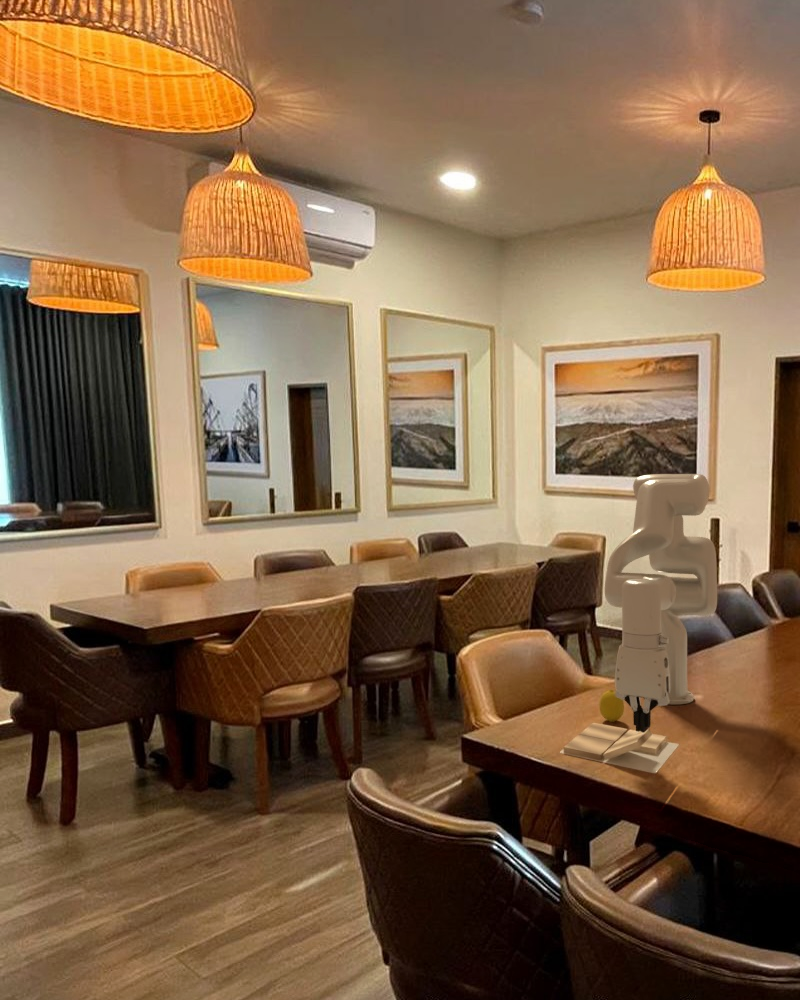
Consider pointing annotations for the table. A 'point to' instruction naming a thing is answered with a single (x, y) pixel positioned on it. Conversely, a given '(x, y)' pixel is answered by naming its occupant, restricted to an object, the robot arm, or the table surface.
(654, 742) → the plank far
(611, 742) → the row
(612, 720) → the lemon
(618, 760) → the underlay mat
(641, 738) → the plank near
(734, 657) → the table surface
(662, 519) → the robot arm
